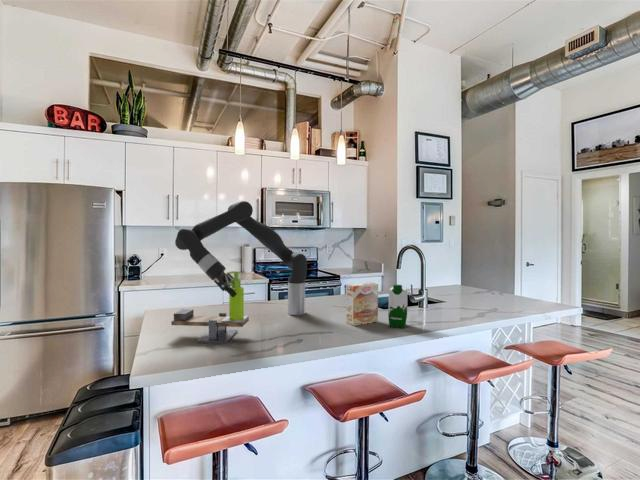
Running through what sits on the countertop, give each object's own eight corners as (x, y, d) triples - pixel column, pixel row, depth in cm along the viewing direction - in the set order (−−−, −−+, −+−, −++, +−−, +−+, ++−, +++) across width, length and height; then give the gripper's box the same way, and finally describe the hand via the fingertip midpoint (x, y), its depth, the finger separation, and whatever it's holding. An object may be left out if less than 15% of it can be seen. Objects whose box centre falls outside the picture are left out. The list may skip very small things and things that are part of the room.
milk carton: (387, 327, 165) (387, 285, 165) (389, 322, 174) (390, 282, 173) (406, 328, 163) (406, 286, 162) (407, 324, 171) (408, 283, 170)
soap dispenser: (228, 316, 150) (228, 270, 150) (244, 316, 151) (244, 270, 150) (225, 320, 144) (225, 272, 144) (242, 319, 145) (242, 272, 144)
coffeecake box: (353, 326, 167) (353, 285, 166) (345, 322, 173) (345, 283, 172) (378, 322, 174) (378, 283, 173) (370, 319, 180) (370, 281, 179)
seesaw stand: (237, 332, 156) (237, 312, 156) (225, 343, 140) (225, 321, 140) (211, 331, 157) (211, 311, 157) (196, 343, 141) (196, 321, 141)
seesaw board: (248, 320, 152) (248, 310, 152) (242, 326, 142) (242, 315, 142) (182, 318, 154) (182, 308, 154) (171, 325, 144) (171, 314, 144)
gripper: (211, 262, 140) (239, 290, 140) (223, 259, 154) (248, 285, 154) (198, 275, 141) (226, 303, 140) (211, 270, 155) (237, 296, 155)
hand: (238, 293), depth 147 cm, fingers open, 8 cm apart
